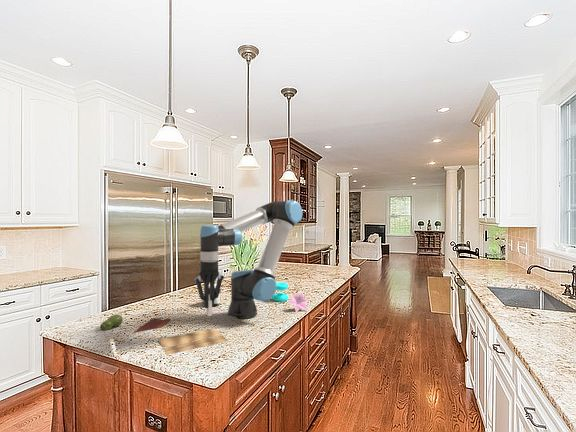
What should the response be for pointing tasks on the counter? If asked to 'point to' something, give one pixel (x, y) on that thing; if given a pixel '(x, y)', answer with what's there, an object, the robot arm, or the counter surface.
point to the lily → (298, 301)
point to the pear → (111, 322)
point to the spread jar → (217, 300)
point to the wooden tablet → (152, 324)
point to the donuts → (280, 296)
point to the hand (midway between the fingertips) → (209, 315)
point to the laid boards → (194, 344)
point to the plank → (188, 337)
